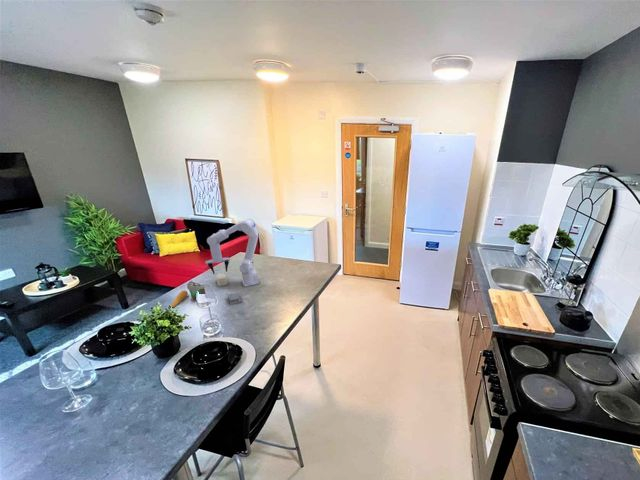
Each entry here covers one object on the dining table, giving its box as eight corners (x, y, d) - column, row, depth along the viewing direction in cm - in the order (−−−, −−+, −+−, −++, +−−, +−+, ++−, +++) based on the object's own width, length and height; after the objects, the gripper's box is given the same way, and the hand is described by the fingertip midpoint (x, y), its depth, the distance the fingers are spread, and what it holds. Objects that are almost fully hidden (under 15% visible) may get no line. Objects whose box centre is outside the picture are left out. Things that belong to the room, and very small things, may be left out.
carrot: (184, 296, 180) (179, 290, 178) (190, 293, 179) (185, 288, 177) (166, 316, 163) (161, 310, 160) (173, 313, 162) (167, 307, 160)
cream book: (224, 276, 200) (224, 273, 199) (226, 280, 193) (225, 277, 192) (217, 277, 197) (216, 274, 196) (218, 282, 191) (217, 279, 190)
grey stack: (238, 295, 180) (238, 292, 179) (241, 302, 174) (240, 298, 173) (228, 298, 178) (228, 294, 177) (230, 304, 171) (230, 300, 170)
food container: (185, 298, 176) (181, 284, 172) (195, 294, 181) (191, 280, 177) (198, 303, 171) (194, 288, 166) (207, 299, 176) (204, 284, 171)
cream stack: (226, 279, 201) (225, 276, 200) (227, 284, 194) (227, 280, 193) (217, 281, 199) (216, 277, 197) (218, 286, 192) (217, 282, 191)
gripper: (204, 257, 181) (208, 276, 187) (229, 253, 188) (232, 272, 194) (203, 253, 187) (207, 272, 192) (227, 250, 193) (231, 268, 199)
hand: (220, 272), depth 193 cm, fingers open, 7 cm apart
